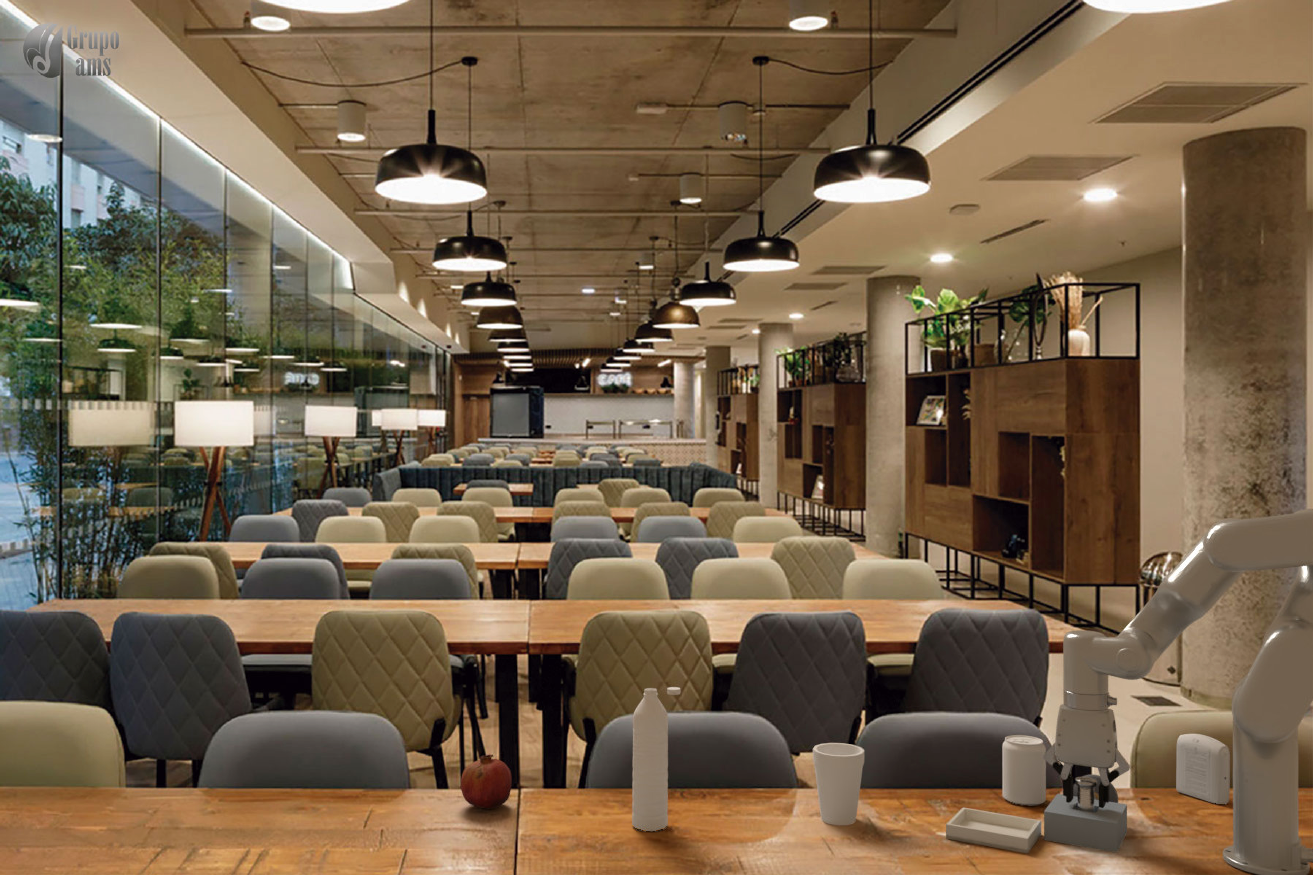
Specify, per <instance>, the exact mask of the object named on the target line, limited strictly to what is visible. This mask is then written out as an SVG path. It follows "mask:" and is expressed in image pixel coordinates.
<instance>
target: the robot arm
mask: <svg viewBox="0 0 1313 875" xmlns="http://www.w3.org/2000/svg"><path fill="white" fill-rule="evenodd" d="M1288 568H1298V569H1297V574H1296V577H1295V579H1294V581H1293V583H1292V585H1291V587H1290V588H1289V591H1288V593H1287V595H1286V596H1287V597H1286V598H1285V600H1284V602H1283V604H1282V605H1281V608H1280V610H1279V611H1278V613H1277V615H1276V616H1275V618H1274V619H1273V621H1272V623H1271V624H1270V626H1269V627H1268V628H1267V630H1266V631H1265V632H1264V635H1263V637H1262V638H1263V639H1262V645H1261V647H1260V649H1259V651H1258V654H1257V655H1256V657H1255V659H1254V661H1253V662H1252V665H1251V667H1250V669H1249V671H1248V672H1247V675H1245V676H1244V677H1242V678H1241V679H1240V680H1239V681H1238V682H1237V683H1236V685H1235V686H1234V689H1233V692H1232V696H1231V715H1232V817H1233V818H1232V832H1233V833H1232V837H1233V838H1232V839H1233V840H1232V842H1233V844H1232V845H1229V846H1226V847H1225V848H1224V849H1223V851H1222V859H1223V860H1224V861H1225V862H1226V863H1227V864H1229V865H1230V866H1232V867H1234V868H1237V869H1238V870H1240V871H1244V872H1247V873H1250V874H1254V875H1308V874H1309V873H1310V869H1311V868H1310V867H1311V865H1310V863H1313V848H1311V847H1306V845H1302V837H1299V726H1300V725H1301V723H1302V720H1303V719H1304V717H1305V716H1306V713H1307V712H1308V710H1309V708H1310V706H1311V704H1312V703H1313V508H1304V509H1299V510H1297V511H1295V512H1293V513H1287V514H1280V515H1272V516H1271V515H1270V516H1264V517H1253V518H1243V519H1240V518H1235V517H1229V518H1228V517H1226V518H1224V519H1222V518H1221V520H1218V521H1217V522H1215V523H1214V524H1212V526H1210V528H1209V529H1207V531H1206V532H1205V533H1204V534H1203V535H1202V537H1201V538H1199V540H1198V541H1197V543H1195V544H1194V546H1193V547H1192V548H1191V549H1190V550H1189V552H1188V553H1186V555H1185V556H1184V557H1183V558H1182V559H1180V562H1178V564H1177V565H1176V566H1175V567H1174V568H1173V569H1172V570H1171V571H1170V572H1169V573H1168V575H1166V577H1164V579H1163V580H1162V581H1161V583H1160V584H1159V586H1158V587H1157V589H1156V591H1155V593H1154V594H1153V595H1152V597H1151V598H1150V599H1149V601H1147V603H1146V604H1145V605H1144V606H1143V607H1142V608H1141V609H1140V610H1139V612H1138V613H1137V614H1136V615H1135V616H1134V617H1133V618H1132V619H1131V621H1130V622H1128V624H1127V625H1126V627H1124V629H1122V631H1121V632H1120V633H1119V634H1118V635H1117V636H1106V635H1105V634H1104V633H1102V632H1098V631H1094V630H1081V629H1080V630H1079V629H1078V630H1071V631H1070V630H1069V631H1068V632H1066V633H1065V634H1064V636H1063V643H1062V644H1063V645H1062V646H1063V647H1062V648H1063V652H1062V654H1063V657H1062V658H1063V660H1062V661H1063V665H1062V666H1063V667H1062V668H1063V673H1062V674H1063V676H1062V677H1063V679H1062V680H1063V681H1062V682H1063V688H1062V689H1063V693H1062V694H1063V699H1062V700H1063V703H1062V704H1060V705H1059V709H1058V713H1057V718H1056V719H1057V720H1056V727H1055V737H1054V738H1055V741H1054V743H1053V744H1052V745H1051V746H1050V747H1049V748H1048V749H1047V750H1046V753H1045V754H1044V755H1043V758H1044V759H1045V760H1046V763H1047V764H1048V765H1050V766H1051V767H1052V768H1053V769H1054V770H1055V772H1056V773H1058V775H1059V776H1060V778H1061V779H1062V794H1063V796H1066V802H1068V803H1070V802H1071V801H1072V800H1073V786H1074V777H1073V776H1072V770H1073V766H1074V765H1075V766H1081V767H1082V766H1083V767H1087V768H1089V767H1090V768H1097V771H1098V774H1099V776H1100V778H1101V783H1100V785H1099V807H1100V808H1104V806H1105V804H1106V802H1107V803H1108V802H1109V784H1110V783H1112V782H1114V781H1115V780H1116V779H1117V778H1118V777H1120V776H1122V775H1124V774H1125V773H1127V772H1129V771H1130V769H1131V765H1130V764H1129V762H1128V761H1127V760H1126V759H1125V757H1124V756H1123V755H1122V753H1121V752H1120V750H1118V749H1119V748H1118V734H1117V733H1118V732H1117V723H1116V718H1115V717H1116V716H1115V712H1114V710H1113V709H1111V708H1109V707H1111V706H1118V698H1117V697H1113V696H1111V695H1110V692H1109V677H1110V676H1111V677H1115V678H1119V679H1122V680H1129V681H1130V680H1131V681H1135V680H1136V681H1137V680H1140V679H1143V678H1145V677H1146V676H1147V675H1149V673H1150V672H1151V671H1152V669H1153V667H1154V665H1155V663H1156V661H1158V660H1159V658H1160V657H1161V656H1162V655H1163V653H1164V652H1166V650H1167V649H1168V648H1169V647H1171V645H1172V644H1173V643H1174V641H1175V640H1176V639H1178V637H1180V635H1181V634H1182V633H1183V632H1184V631H1185V630H1186V629H1187V628H1188V627H1190V625H1192V624H1194V623H1195V622H1196V621H1198V620H1200V619H1201V618H1203V617H1204V616H1205V615H1206V614H1207V613H1208V612H1209V611H1210V610H1211V609H1212V608H1213V607H1214V606H1215V604H1216V603H1217V602H1219V600H1221V598H1222V597H1223V596H1224V595H1225V594H1226V593H1227V592H1228V590H1229V589H1230V588H1232V586H1233V585H1234V584H1235V583H1236V582H1237V581H1238V580H1239V579H1240V577H1241V576H1242V575H1243V574H1244V573H1245V572H1256V571H1257V572H1258V571H1270V570H1279V569H1288ZM1062 763H1063V764H1062ZM1115 763H1117V764H1118V766H1117V767H1115V768H1114V769H1113V770H1111V771H1110V769H1111V768H1113V767H1114V765H1115Z"/></svg>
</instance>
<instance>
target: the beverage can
mask: <svg viewBox="0 0 1313 875" xmlns="http://www.w3.org/2000/svg"><path fill="white" fill-rule="evenodd" d="M1001 746H1002V753H1001V754H1002V755H1001V756H1002V763H1001V764H1002V767H1001V768H1002V798H1003V799H1005V800H1006V801H1008V802H1009V801H1010V802H1009V803H1011V802H1013V803H1012V804H1014V803H1015V804H1014V805H1017V804H1021V805H1020V806H1023V805H1028V806H1027V807H1032V806H1038V805H1039V806H1040V805H1041V804H1043V803H1045V802H1046V800H1047V794H1046V793H1047V780H1046V779H1047V772H1046V771H1047V761H1046V760H1045V759H1044V758H1043V755H1044V754H1045V753H1046V752H1047V748H1046V745H1045V744H1044V741H1043V739H1041V738H1039V737H1036V736H1031V735H1023V734H1016V735H1015V734H1014V735H1008V736H1005V738H1004V741H1003V742H1002V745H1001Z"/></svg>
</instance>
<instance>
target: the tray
mask: <svg viewBox="0 0 1313 875" xmlns="http://www.w3.org/2000/svg"><path fill="white" fill-rule="evenodd" d="M1041 836H1042V820H1041V819H1040V820H1039V819H1034V818H1027V817H1021V816H1018V815H1017V816H1016V815H1011V814H1004V813H999V812H992V811H986V810H982V809H975V808H967V807H962V808H960V810H958V811H957V813H956V814H955V815H953V816H952V818H951V819H950V820H949V821H947V823H945V839H946V840H947V839H948V840H952V841H959V842H964V843H969V844H974V845H979V846H985V847H990V848H996V849H1001V850H1005V851H1006V850H1007V851H1012V852H1017V853H1024V854H1029V852H1031V850H1032V848H1033V847H1034V845H1035V844H1036V843H1037V841H1038V840H1039V838H1040V837H1041Z"/></svg>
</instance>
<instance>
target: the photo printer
mask: <svg viewBox="0 0 1313 875" xmlns="http://www.w3.org/2000/svg"><path fill="white" fill-rule="evenodd" d="M1230 754H1231V753H1230V748H1229V747H1228V746H1227V745H1226V744H1224V743H1223V742H1222V741H1220V740H1218V739H1216V738H1213V737H1211V736H1208V735H1204V734H1200V733H1185V734H1180V735H1179V737H1177V741H1176V764H1175V765H1176V767H1175V768H1176V773H1175V775H1176V776H1175V778H1176V779H1175V780H1176V781H1175V782H1176V785H1175V786H1176V791H1177V792H1178V793H1181V794H1184V795H1187V796H1190V797H1194V798H1197V799H1200V800H1203V801H1206V802H1208V803H1213V804H1215V803H1216V805H1218V804H1225V805H1227V803H1228V804H1229V802H1230V796H1231V793H1230V791H1231V790H1230V789H1231V788H1230V785H1231V783H1230V782H1231V781H1230V780H1231V779H1230V778H1231V777H1230V775H1231V772H1230V771H1231V767H1230V766H1231V758H1230V757H1231V755H1230Z"/></svg>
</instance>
